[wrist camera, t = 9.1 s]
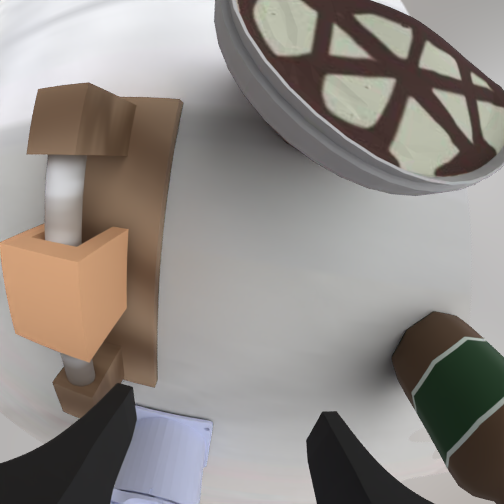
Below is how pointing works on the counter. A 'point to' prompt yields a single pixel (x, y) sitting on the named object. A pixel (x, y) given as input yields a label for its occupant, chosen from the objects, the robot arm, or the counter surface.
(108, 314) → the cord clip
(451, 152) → the food container
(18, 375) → the counter surface
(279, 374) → the counter surface
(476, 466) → the beer bottle
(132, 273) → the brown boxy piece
